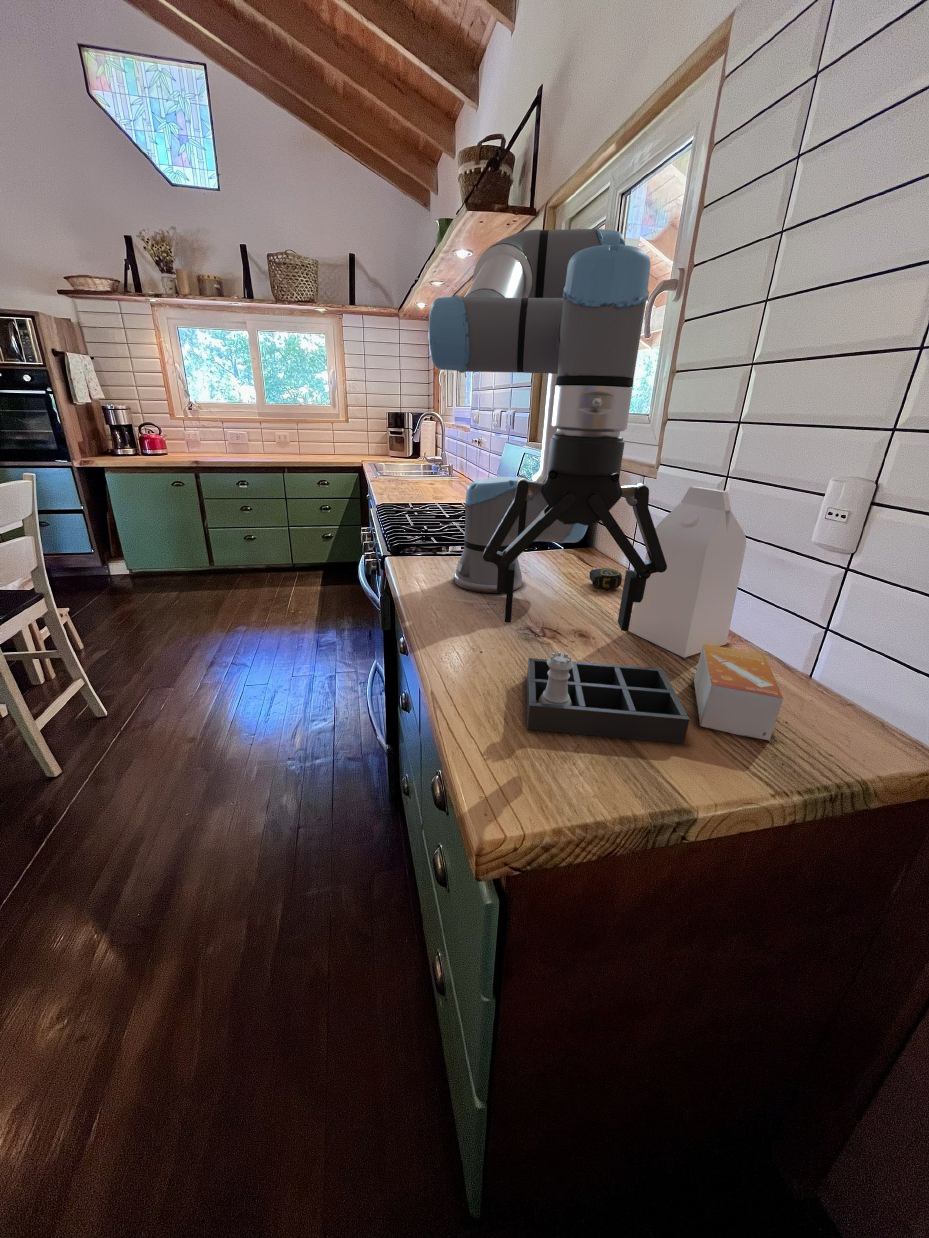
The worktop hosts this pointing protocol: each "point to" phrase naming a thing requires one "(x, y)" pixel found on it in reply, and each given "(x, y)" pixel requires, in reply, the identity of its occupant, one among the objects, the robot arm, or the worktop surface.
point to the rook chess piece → (557, 680)
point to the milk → (693, 575)
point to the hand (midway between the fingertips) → (564, 622)
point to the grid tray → (609, 703)
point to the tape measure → (605, 578)
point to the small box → (736, 692)
